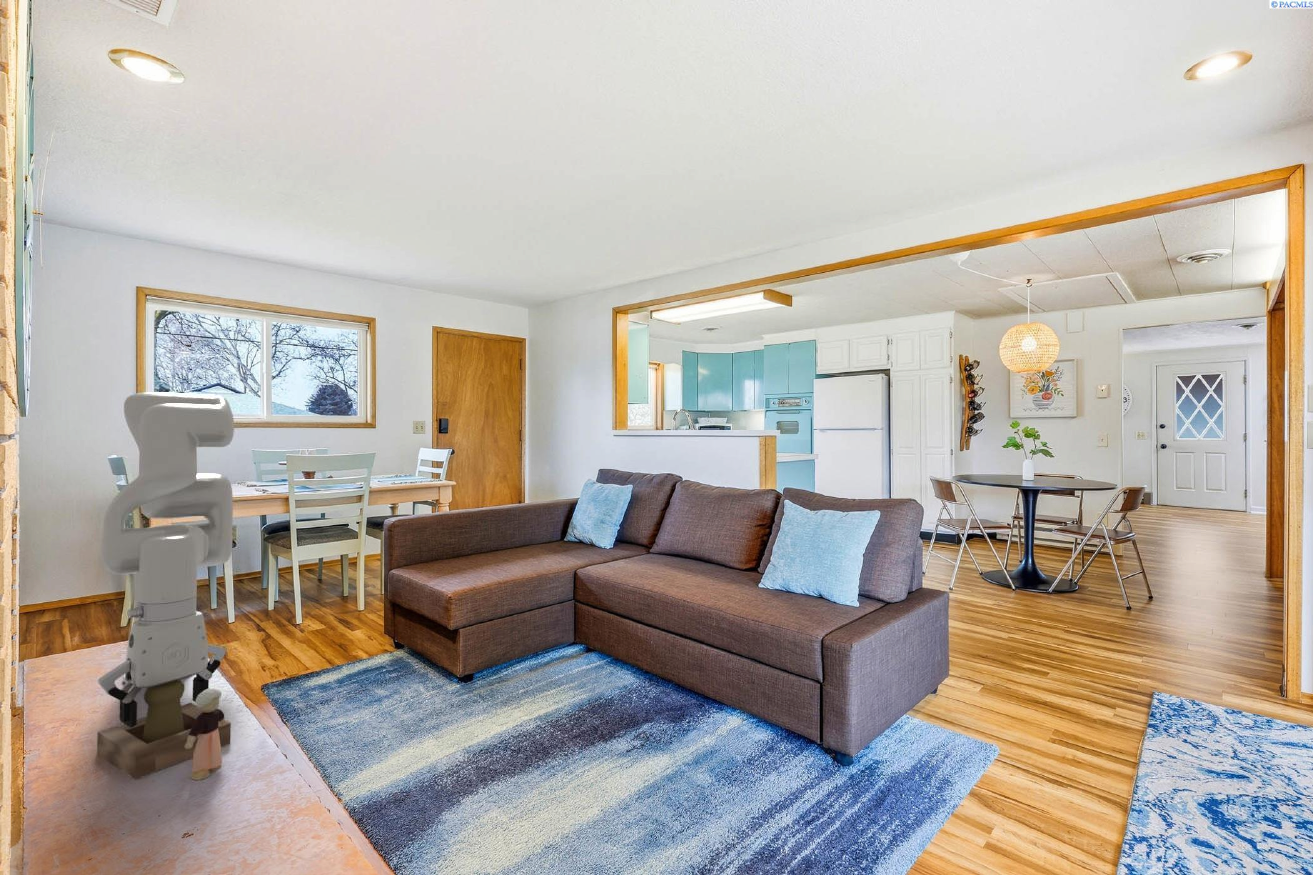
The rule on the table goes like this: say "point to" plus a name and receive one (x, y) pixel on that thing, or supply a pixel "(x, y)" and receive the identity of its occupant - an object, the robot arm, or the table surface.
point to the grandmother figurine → (206, 735)
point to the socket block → (151, 745)
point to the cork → (163, 711)
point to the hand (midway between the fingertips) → (165, 713)
